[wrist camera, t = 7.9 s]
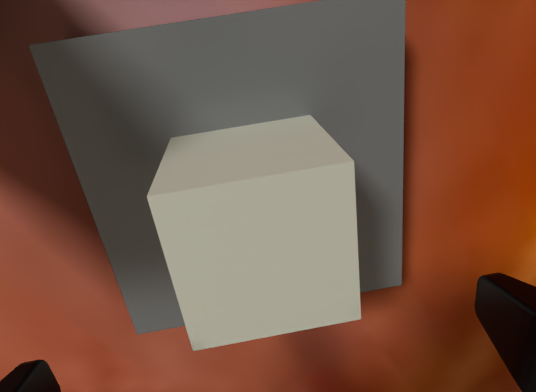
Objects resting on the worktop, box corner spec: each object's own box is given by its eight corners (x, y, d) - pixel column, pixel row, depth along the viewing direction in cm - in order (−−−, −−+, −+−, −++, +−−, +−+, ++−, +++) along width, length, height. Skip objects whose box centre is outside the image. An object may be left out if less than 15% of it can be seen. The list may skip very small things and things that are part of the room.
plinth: (372, -7, 15) (405, -13, 12) (377, 249, 20) (401, 285, 18) (63, 40, 15) (28, 45, 12) (148, 291, 20) (137, 334, 17)
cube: (310, 114, 14) (354, 161, 9) (321, 234, 16) (361, 318, 11) (170, 137, 14) (146, 196, 9) (200, 255, 16) (193, 351, 11)
